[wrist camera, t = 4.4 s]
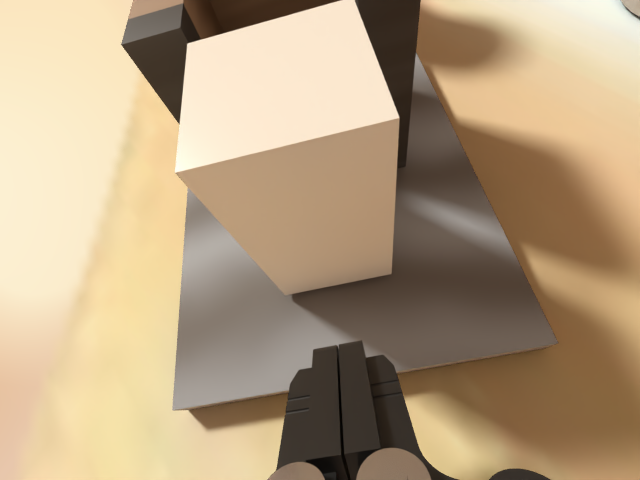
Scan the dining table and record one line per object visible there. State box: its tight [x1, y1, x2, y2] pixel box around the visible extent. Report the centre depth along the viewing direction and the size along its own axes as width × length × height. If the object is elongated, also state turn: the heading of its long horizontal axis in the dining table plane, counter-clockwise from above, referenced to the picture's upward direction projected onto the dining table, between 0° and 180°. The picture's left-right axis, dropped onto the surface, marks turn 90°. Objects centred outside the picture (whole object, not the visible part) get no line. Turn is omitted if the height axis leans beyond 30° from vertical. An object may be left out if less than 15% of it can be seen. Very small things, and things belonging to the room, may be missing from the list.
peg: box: [175, 0, 399, 295], centre depth 12 cm, size 5×5×9 cm
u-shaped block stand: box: [121, 0, 558, 410], centre depth 14 cm, size 20×16×10 cm
